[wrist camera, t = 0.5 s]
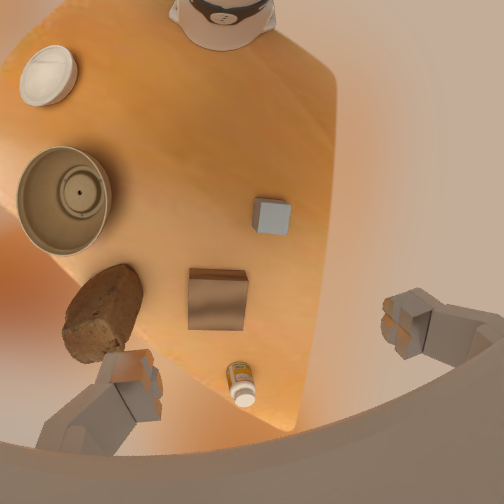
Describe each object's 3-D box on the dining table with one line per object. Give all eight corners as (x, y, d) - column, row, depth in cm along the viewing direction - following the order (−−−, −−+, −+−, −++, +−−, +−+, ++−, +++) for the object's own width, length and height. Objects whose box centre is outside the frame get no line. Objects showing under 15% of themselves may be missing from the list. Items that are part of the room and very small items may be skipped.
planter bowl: (50, 238, 46) (23, 257, 36) (45, 151, 41) (13, 153, 31) (127, 235, 49) (111, 256, 39) (124, 142, 44) (105, 140, 33)
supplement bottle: (237, 382, 63) (243, 412, 54) (221, 370, 61) (225, 402, 52) (255, 369, 63) (264, 399, 54) (239, 357, 61) (246, 388, 52)
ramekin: (78, 42, 35) (68, 33, 30) (87, 92, 39) (77, 86, 34) (29, 70, 34) (16, 64, 29) (37, 119, 38) (23, 117, 33)
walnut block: (189, 267, 53) (189, 278, 48) (244, 270, 55) (248, 281, 50) (188, 315, 56) (188, 329, 51) (239, 316, 58) (242, 330, 53)
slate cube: (255, 197, 51) (261, 202, 46) (283, 200, 52) (291, 205, 47) (252, 225, 52) (257, 232, 48) (279, 227, 53) (287, 234, 49)
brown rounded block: (134, 258, 50) (104, 315, 32) (148, 294, 53) (130, 362, 34) (84, 274, 49) (41, 331, 31) (100, 307, 52) (68, 373, 33)
